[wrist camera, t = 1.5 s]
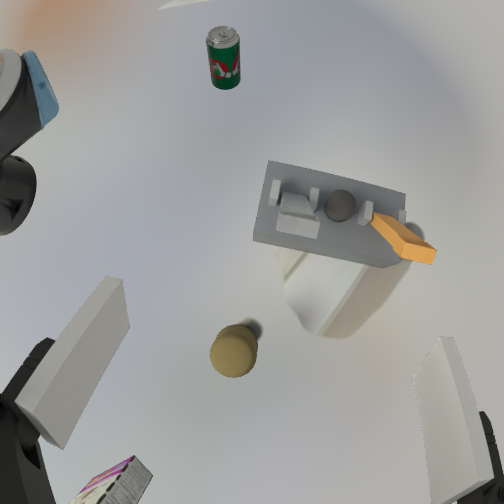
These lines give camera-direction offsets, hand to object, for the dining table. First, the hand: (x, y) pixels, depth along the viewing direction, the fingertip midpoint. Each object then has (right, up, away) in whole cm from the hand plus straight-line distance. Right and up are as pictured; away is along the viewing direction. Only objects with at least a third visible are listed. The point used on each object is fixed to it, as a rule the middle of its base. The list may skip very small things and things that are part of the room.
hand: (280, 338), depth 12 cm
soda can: (-6, +33, +40) cm, 52 cm away
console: (+10, +8, +35) cm, 37 cm away
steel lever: (+4, +10, +29) cm, 31 cm away
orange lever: (+16, +8, +28) cm, 33 cm away
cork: (-3, -10, +32) cm, 34 cm away
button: (+10, +9, +29) cm, 32 cm away
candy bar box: (-22, -33, +28) cm, 49 cm away
